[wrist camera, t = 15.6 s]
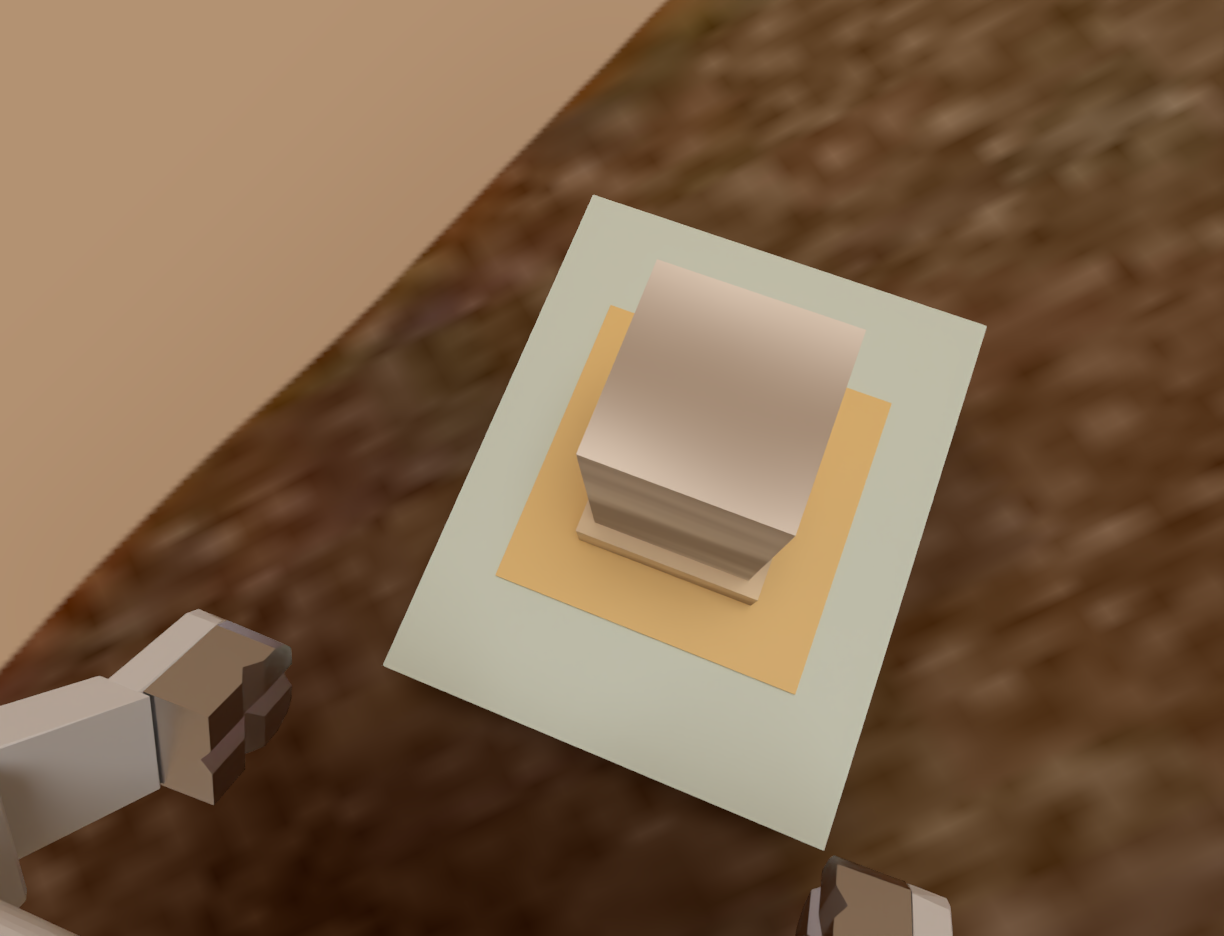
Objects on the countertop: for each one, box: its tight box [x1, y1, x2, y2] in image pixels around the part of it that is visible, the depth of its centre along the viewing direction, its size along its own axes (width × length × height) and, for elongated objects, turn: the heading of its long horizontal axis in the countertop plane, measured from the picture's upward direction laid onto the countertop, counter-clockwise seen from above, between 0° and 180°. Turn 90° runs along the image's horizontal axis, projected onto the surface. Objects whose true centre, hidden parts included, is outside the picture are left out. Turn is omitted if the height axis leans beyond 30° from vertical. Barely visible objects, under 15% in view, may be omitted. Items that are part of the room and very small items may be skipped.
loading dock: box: [383, 195, 987, 851], centre depth 27 cm, size 16×13×4 cm
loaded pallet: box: [576, 259, 866, 606], centre depth 20 cm, size 5×5×8 cm
